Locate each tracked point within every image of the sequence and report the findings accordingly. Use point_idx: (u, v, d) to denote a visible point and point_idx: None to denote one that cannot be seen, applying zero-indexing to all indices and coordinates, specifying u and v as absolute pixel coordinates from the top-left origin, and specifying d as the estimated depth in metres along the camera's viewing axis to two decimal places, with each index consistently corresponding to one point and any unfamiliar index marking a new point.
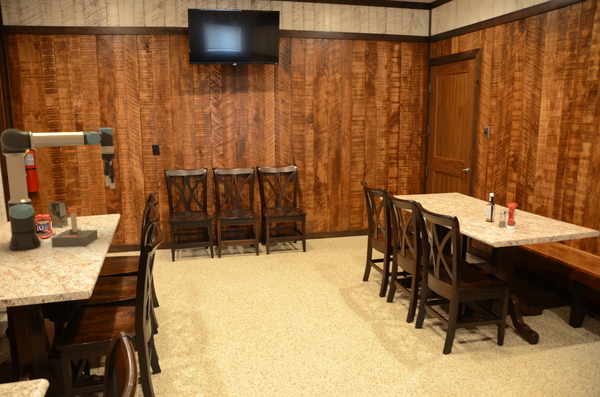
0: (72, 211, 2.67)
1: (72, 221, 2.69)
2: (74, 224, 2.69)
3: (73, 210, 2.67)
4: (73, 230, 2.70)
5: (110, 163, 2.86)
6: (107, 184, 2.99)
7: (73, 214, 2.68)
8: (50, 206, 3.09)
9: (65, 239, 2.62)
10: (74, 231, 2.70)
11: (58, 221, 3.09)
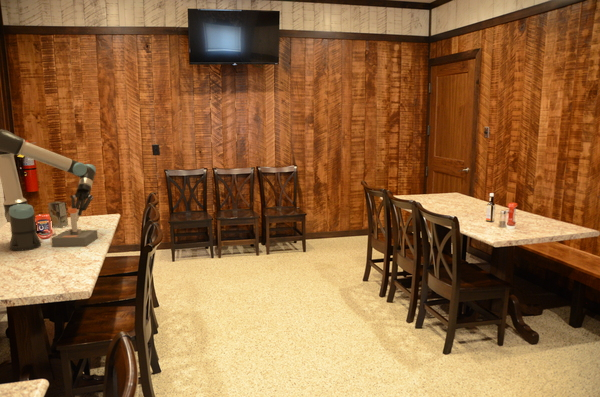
0: (72, 211, 2.67)
1: (72, 221, 2.69)
2: (74, 224, 2.69)
3: (73, 210, 2.67)
4: (73, 230, 2.70)
5: (91, 198, 2.80)
6: None
7: (73, 214, 2.68)
8: (50, 206, 3.09)
9: (65, 239, 2.62)
10: (74, 231, 2.70)
11: (58, 221, 3.09)
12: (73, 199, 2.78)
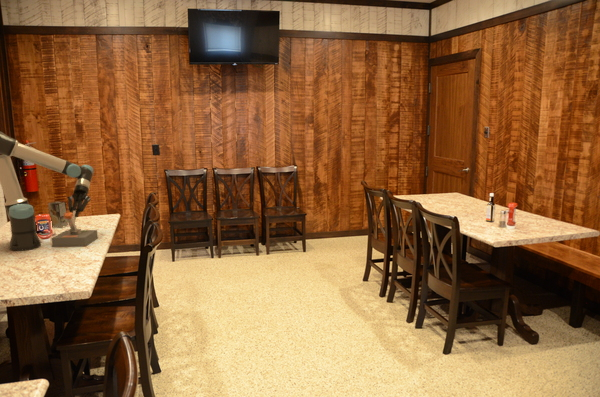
0: (68, 217, 2.62)
1: (70, 224, 2.66)
2: (73, 227, 2.67)
3: (69, 216, 2.62)
4: (73, 231, 2.70)
5: (88, 199, 2.77)
6: None
7: (70, 219, 2.64)
8: (50, 206, 3.09)
9: (65, 239, 2.62)
10: (74, 232, 2.70)
11: (58, 221, 3.09)
12: (70, 200, 2.75)
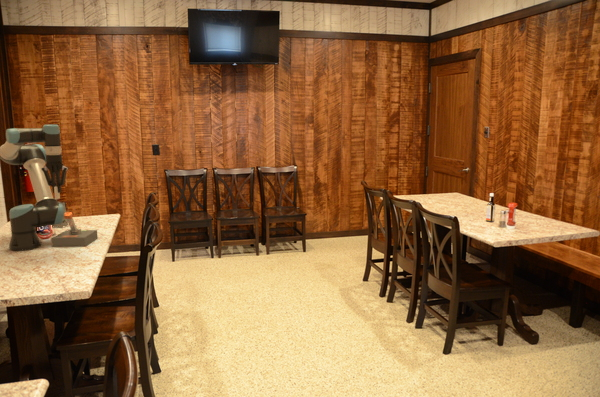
0: (68, 217, 2.62)
1: (70, 224, 2.66)
2: (73, 227, 2.67)
3: (69, 217, 2.62)
4: (73, 231, 2.70)
5: None
6: None
7: (70, 219, 2.64)
8: None
9: (65, 239, 2.62)
10: (74, 232, 2.70)
11: None
12: None
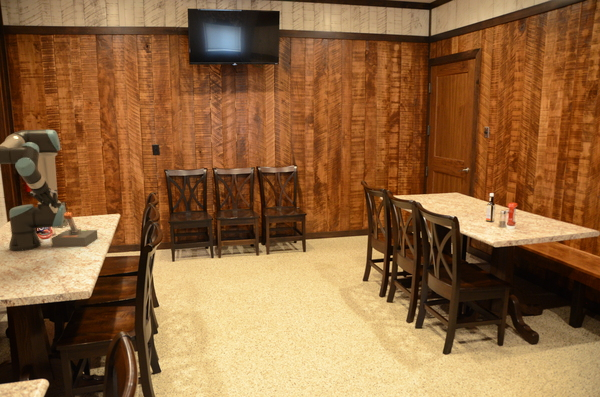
0: (68, 217, 2.62)
1: (70, 224, 2.66)
2: (73, 227, 2.67)
3: (69, 217, 2.62)
4: (73, 231, 2.70)
5: None
6: None
7: (70, 219, 2.64)
8: None
9: (65, 239, 2.62)
10: (74, 232, 2.70)
11: None
12: None
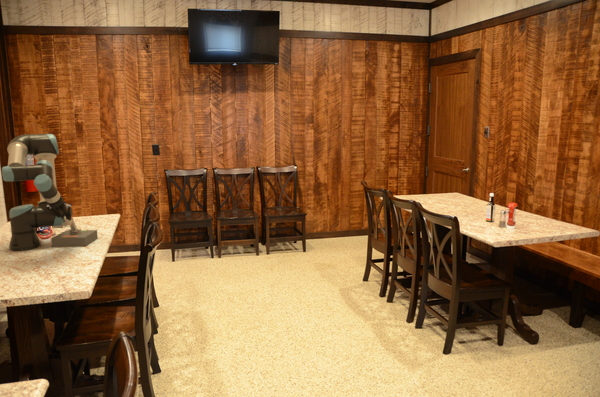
0: None
1: None
2: (73, 226, 2.68)
3: None
4: (73, 231, 2.70)
5: None
6: None
7: None
8: None
9: (65, 239, 2.62)
10: (74, 232, 2.70)
11: None
12: None
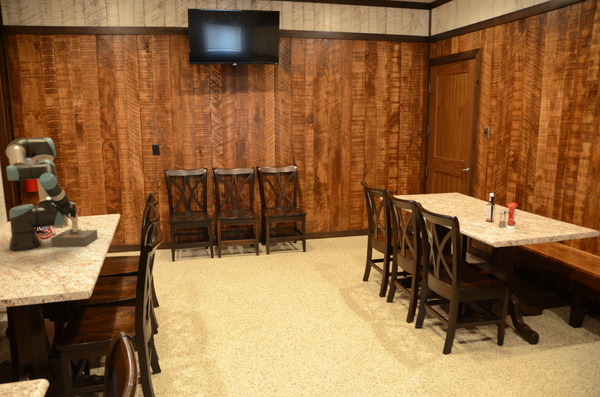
0: None
1: None
2: (75, 224, 2.70)
3: None
4: (73, 230, 2.70)
5: None
6: None
7: None
8: None
9: (65, 239, 2.62)
10: (74, 231, 2.70)
11: None
12: None
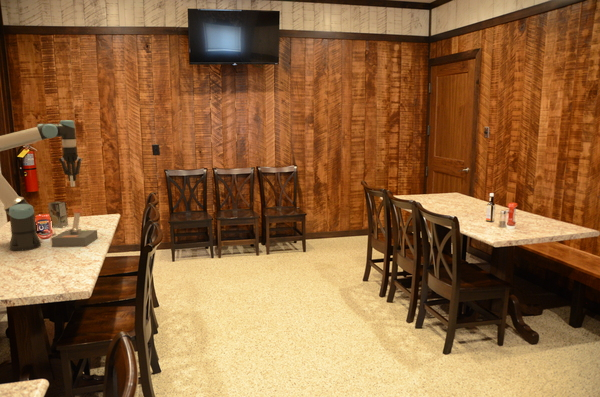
0: (77, 210, 2.74)
1: (74, 220, 2.72)
2: (76, 223, 2.71)
3: (78, 210, 2.74)
4: (73, 229, 2.70)
5: (80, 160, 2.79)
6: None
7: (77, 214, 2.73)
8: (50, 206, 3.09)
9: (65, 239, 2.62)
10: (74, 230, 2.70)
11: (58, 221, 3.09)
12: (63, 163, 2.78)
